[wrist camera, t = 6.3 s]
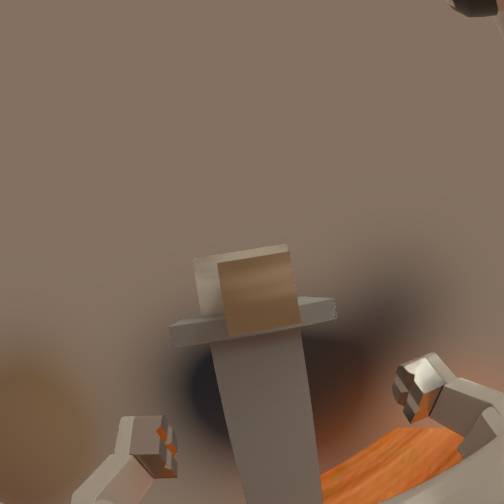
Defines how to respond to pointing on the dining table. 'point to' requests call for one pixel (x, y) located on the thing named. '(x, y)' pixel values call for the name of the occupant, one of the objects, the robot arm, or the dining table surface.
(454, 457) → the dining table surface
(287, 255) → the mallet
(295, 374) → the pedestal shelf
